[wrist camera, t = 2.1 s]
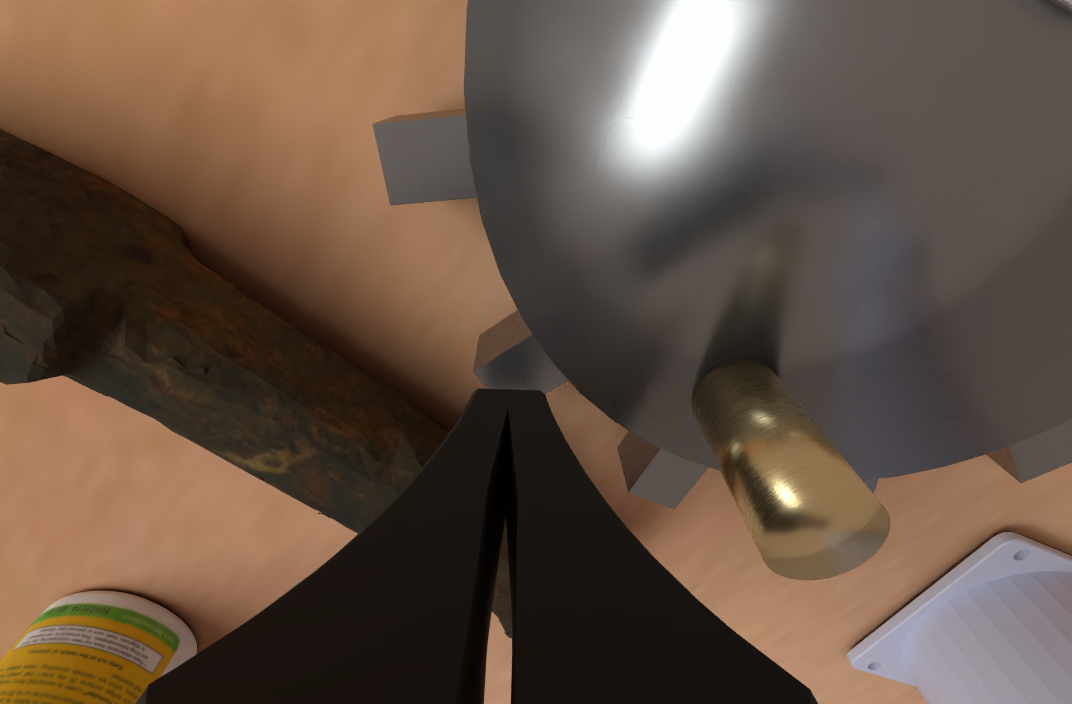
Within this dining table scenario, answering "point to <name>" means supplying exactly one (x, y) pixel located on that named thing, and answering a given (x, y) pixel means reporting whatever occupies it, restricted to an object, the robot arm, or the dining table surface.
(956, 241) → the sprocket
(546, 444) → the robot arm
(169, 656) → the supplement bottle
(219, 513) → the dining table surface
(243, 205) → the dining table surface
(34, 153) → the dark brown rough bar
